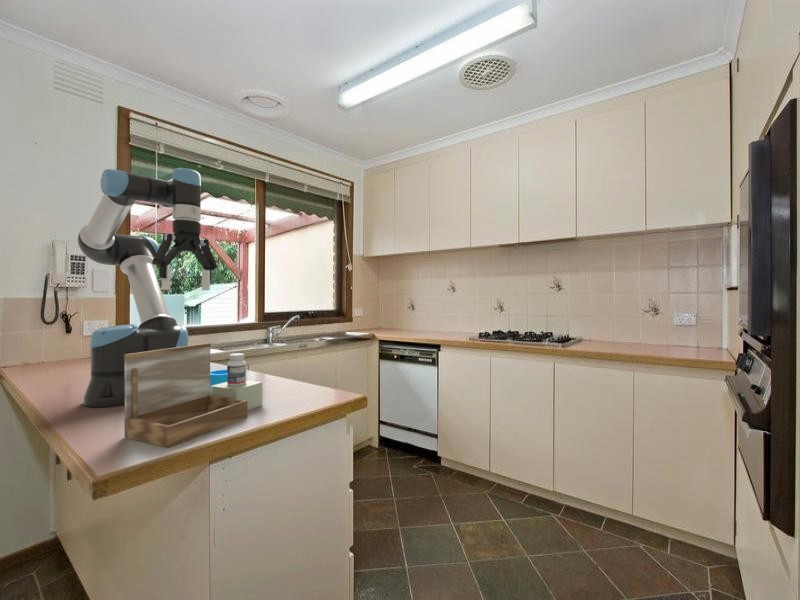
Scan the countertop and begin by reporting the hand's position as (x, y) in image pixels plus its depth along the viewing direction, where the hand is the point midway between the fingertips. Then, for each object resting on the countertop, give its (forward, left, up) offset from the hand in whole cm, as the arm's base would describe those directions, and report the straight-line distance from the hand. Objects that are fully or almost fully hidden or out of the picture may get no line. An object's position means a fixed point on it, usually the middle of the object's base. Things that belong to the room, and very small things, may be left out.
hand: (187, 290), depth 119 cm
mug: (+5, +11, -35) cm, 37 cm away
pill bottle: (+18, +3, -28) cm, 33 cm away
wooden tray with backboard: (+20, -14, -35) cm, 43 cm away
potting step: (+18, +3, -35) cm, 39 cm away
